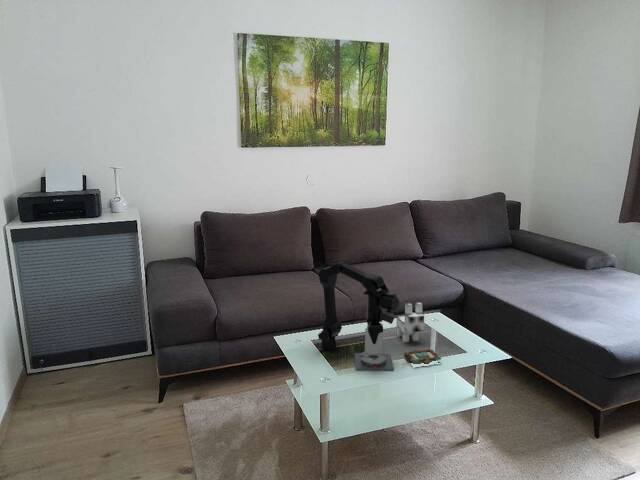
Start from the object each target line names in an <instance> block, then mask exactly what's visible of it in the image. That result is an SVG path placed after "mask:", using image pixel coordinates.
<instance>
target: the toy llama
mask: <svg viewBox="0 0 640 480" xmlns="http://www.w3.org/2000/svg"><path fill="white" fill-rule="evenodd" d="M414 304H415V305H414V312H413V304H412V303H411V302H409V303H408V302H406V303H405V304H404V305H405V306H404V315H397V316H396V336H397V337H402V338H401V341H402V342H403V343H404V344H407V343H409V342H410V336H411V340H412V341H413V342H419V341H420V332H424V331H425V315H424V314H423V303H422V302H421V301H420V302H419V301H417V302H415V303H414Z"/></svg>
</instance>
